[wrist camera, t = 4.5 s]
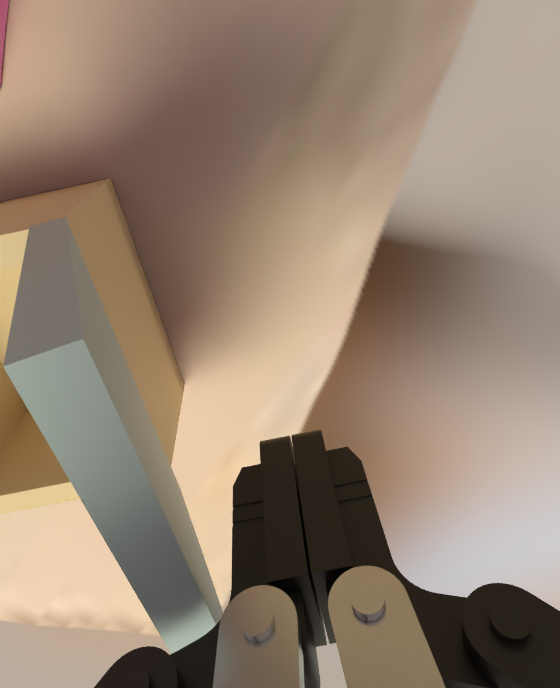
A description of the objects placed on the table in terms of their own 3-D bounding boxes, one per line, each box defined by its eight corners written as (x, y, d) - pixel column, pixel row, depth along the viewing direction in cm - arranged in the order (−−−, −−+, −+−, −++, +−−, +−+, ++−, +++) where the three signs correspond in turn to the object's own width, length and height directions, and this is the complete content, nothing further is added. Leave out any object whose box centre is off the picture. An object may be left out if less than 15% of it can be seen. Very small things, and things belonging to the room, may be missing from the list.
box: (-92, 221, 20) (-232, 284, 14) (110, 178, 20) (56, 223, 14) (24, 417, 26) (-41, 522, 20) (184, 384, 26) (168, 481, 20)
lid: (2, 366, 6) (82, 338, 6) (29, 226, 13) (65, 216, 14) (223, 743, 12) (260, 720, 12) (156, 499, 19) (180, 488, 19)
